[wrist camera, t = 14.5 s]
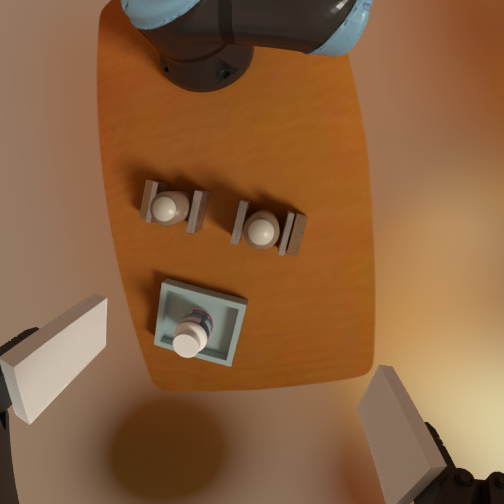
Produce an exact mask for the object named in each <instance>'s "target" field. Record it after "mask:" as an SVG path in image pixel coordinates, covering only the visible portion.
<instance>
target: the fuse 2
mask: <svg viewBox="0 0 504 504" xmlns="http://www.w3.org/2000/svg"><path fill="white" fill-rule="evenodd" d="M243 234H244V238H245V240H246V241H247V243H248V244H249V245H250V246H252V247H254V248H256V249H267V248H269V247H271V246H273V245H274V244H275V243H276V241H277V240H278V237H279V223H278V219H277V217H276V215H275V214H274V213H273V212H271V211H269V210H265V209H261V210H258V211H256V212H254V213H253V214H252V215H251V216H250V218H249V219H248V220H247V221H246V223H245V225H244V229H243Z"/></svg>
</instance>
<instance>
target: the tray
mask: <svg viewBox="0 0 504 504" xmlns="http://www.w3.org/2000/svg"><path fill="white" fill-rule="evenodd" d="M247 302H248V299H244V298H240V297H236V296H232V295H228V294H224V293H220V292H216V291H212V290H209V289H205V288H201V287H197V286H194V285H190V284H186V283H183V282H179V281H176V280H172V279H169V278H166V279H165V280H164V281H163V282H162V285H161V292H160V300H159V307H158V315H157V324H156V332H155V342H154V345H157V346H160V347H164V348H167V349H170V350H173V351H175V350H174V348H173V340H174V332H175V329H176V327H177V326H178V324H179V323H180V321H181V320H182V319H183V317H184V316H185V314H186V313H187V312H188V311H189V310H191V309H194V308H200V309H203V310H206V311H207V312H208V313H209V314H210V315H211V316H212V318H213V321H214V327H213V330H212V332H211V334H210V337H209V339H208V341H207V344H206V346H205V347H204V348H203V349H202V350H201V351H199V352H198V353H197V354H196V355H195V356H193V357H197V358H200V359H204V360H207V361H211V362H215V363H219V364H222V365H226V366H230V367H231V364H232V361H233V357H234V353H235V349H236V345H237V341H238V337H239V333H240V329H241V325H242V322H243V318H244V314H245V310H246V306H247Z"/></svg>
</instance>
